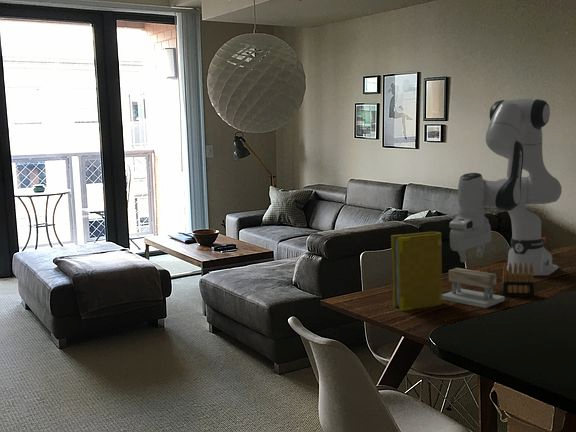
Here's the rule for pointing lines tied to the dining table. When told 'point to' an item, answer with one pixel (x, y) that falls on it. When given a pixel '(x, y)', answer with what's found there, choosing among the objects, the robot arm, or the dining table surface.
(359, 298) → the dining table surface
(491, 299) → the peg stand
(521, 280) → the ammunition clip
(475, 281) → the tan bar
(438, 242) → the book
